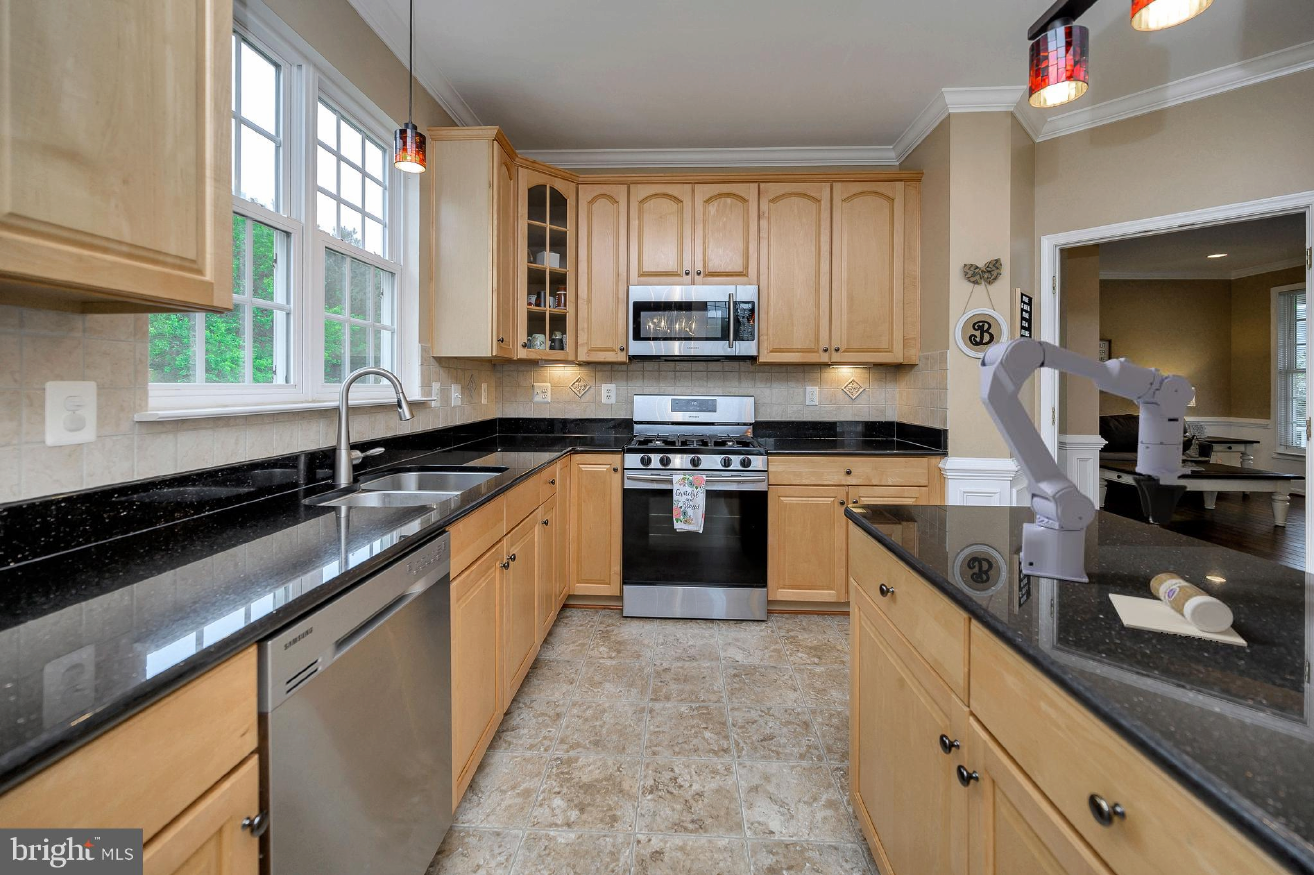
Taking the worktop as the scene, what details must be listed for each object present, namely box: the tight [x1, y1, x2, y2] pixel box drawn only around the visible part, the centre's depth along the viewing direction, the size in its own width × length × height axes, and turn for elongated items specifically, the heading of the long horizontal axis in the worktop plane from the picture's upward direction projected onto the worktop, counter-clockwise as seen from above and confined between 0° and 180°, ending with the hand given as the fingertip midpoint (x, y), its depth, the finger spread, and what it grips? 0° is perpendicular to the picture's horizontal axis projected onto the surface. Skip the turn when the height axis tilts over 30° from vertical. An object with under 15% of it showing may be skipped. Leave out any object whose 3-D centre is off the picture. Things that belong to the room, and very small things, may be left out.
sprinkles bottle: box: [1149, 572, 1234, 632], centre depth 79 cm, size 5×5×13 cm
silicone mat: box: [1108, 593, 1248, 647], centre depth 79 cm, size 12×14×1 cm
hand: (1156, 519), depth 96 cm, fingers open, 6 cm apart
